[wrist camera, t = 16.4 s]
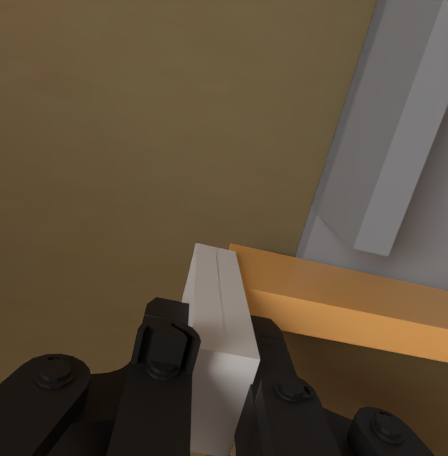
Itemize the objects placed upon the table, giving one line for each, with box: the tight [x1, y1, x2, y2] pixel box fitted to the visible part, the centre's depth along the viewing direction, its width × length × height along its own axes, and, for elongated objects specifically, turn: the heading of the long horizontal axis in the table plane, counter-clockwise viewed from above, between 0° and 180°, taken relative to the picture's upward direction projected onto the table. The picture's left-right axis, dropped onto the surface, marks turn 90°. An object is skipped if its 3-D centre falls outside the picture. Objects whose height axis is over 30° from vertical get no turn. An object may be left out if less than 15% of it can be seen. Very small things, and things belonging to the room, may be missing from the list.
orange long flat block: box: [229, 243, 448, 362], centre depth 15 cm, size 12×1×4 cm, turn 76°
